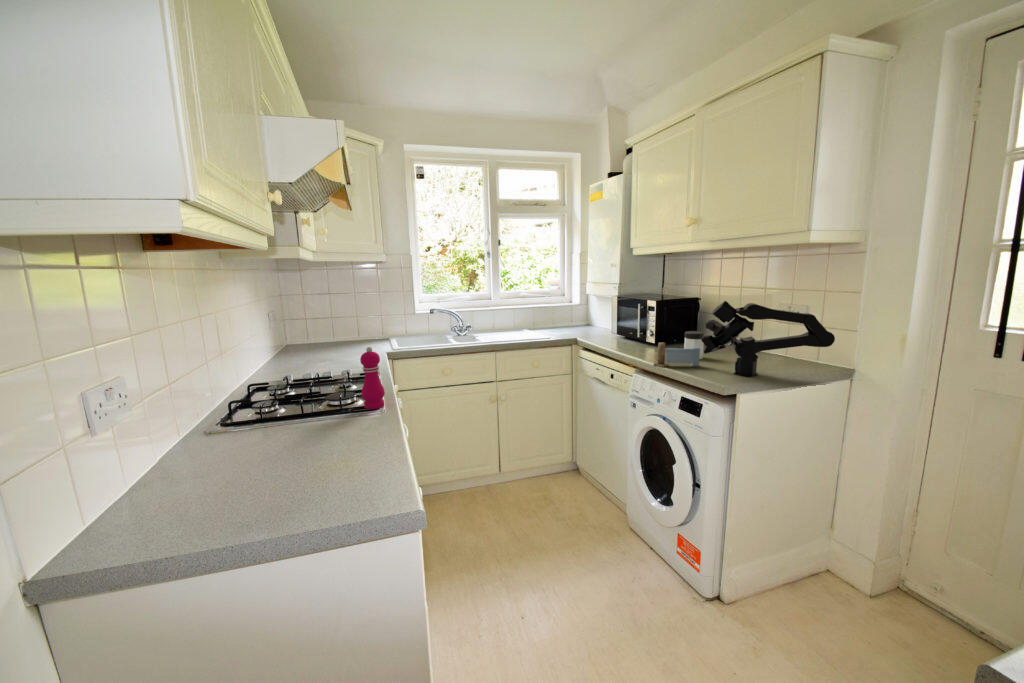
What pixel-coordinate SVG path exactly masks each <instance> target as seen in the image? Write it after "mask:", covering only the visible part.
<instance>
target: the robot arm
mask: <svg viewBox="0 0 1024 683" xmlns="http://www.w3.org/2000/svg"><path fill="white" fill-rule="evenodd" d="M711 315H713V316H714V317H715V318H717V319H718V320H719V321H721V322H722V323H727V324H726V325H724V324H722V323H721V322H719V321H717V320H715V319H710V320H708V321H706V323H705V329H707V330H709V331H711V332H712V334H713V335H712V334H708V335H704V337H703V338H701V341H702V342H703V343H704V346H705V349H703V354H705V355H706V354H709V353H713V352H717V351H719V350H723V349H725V348H726V347H727V346H726V345H729V346H730V347H731V348H732V350H733V351H734V353H735V354H736V355H737V356H738V357H736V361H735V364H734V372H733V375H737V376H743V377H748V378H751V377H755V376H758V375H759V372H757V366H758V365H757V364H758V358H759V356H758V355H757V353H760V352H765V351H766V352H767V351H773V350H781V349H788V348H797V347H813V348H828V347H831V346H832V345H834V343H835V340H836V337H835V335H834V334H833V333H832V332H831V331H828V330H827V328H826V327H824V326H823V324H822V323H821V322H820V321H819V320H818V319H817V317H816V316H815V315H814V314H811V313H809V312H804V313H803V312H797V311H796V312H795V311H790V310H789V311H788V310H781V309H776V308H775V309H774V308H769V307H767V306H764V305H761V304H760V305H759V304H757V303H753V302H750V303H747V304H745V305H744V306H742V307H737V308H735V307H734V306H732V305H731V304H730V303H729V302H728V301H727V300H724V301H722V303H720V304H719V305H717V306H716V307H715V308H714V310H712V313H711ZM747 318H748V319H750V320H748V319H747ZM751 320H753V321H751ZM754 320H756V321H757V320H759V321H760V320H776V321H782V322H788V323H789V322H790V323H797V324H803V325H804V327H805V329H806V331H805V332H804V333H801V334H799V335H791V336H782V337H776V338H767V339H755V337H753V336H752V335H751V336H747V337H740V335H741V334H742V333H743V332H744V331H746V329H748V330H749V331H751V332H753V331H754V329H755V325H754V324H755V322H754ZM738 337H739V339H737V338H738Z"/></svg>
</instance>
